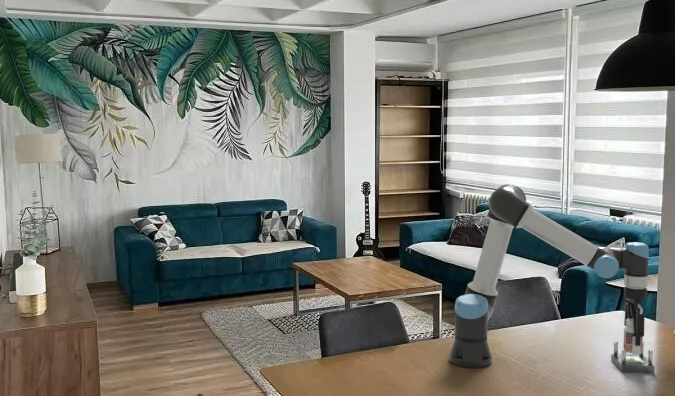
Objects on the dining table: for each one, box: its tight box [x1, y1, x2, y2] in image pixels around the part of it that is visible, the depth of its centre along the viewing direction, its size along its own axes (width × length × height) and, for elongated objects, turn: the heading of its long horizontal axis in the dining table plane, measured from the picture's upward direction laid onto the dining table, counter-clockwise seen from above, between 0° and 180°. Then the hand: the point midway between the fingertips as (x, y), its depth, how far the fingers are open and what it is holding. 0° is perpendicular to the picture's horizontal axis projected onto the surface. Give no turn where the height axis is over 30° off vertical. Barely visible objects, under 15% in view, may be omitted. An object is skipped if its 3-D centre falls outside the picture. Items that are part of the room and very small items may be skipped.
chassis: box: [610, 340, 656, 374], centre depth 253 cm, size 11×12×8 cm
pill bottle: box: [622, 318, 644, 354], centre depth 252 cm, size 6×6×11 cm
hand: (633, 350), depth 253 cm, fingers closed on pill bottle, 6 cm apart
